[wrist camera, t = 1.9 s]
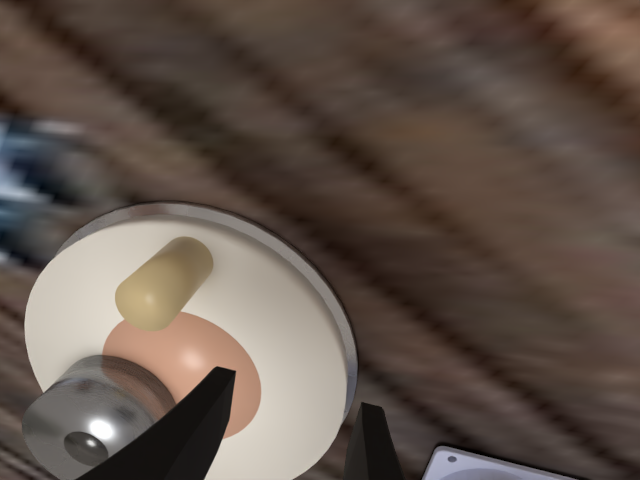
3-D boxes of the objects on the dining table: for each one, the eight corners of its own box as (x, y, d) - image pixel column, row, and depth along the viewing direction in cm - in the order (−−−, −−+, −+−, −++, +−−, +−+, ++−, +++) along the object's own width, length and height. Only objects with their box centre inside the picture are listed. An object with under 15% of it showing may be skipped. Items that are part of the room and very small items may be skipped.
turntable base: (396, 249, 20) (396, 253, 20) (322, 497, 28) (321, 504, 28) (30, 164, 21) (22, 166, 21) (57, 428, 29) (52, 434, 29)
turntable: (384, 261, 20) (384, 328, 15) (315, 499, 27) (300, 599, 22) (31, 179, 21) (-82, 217, 16) (57, 431, 28) (-14, 513, 23)
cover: (181, 373, 22) (151, 418, 20) (175, 460, 25) (149, 510, 22) (58, 341, 23) (13, 381, 20) (67, 431, 26) (29, 476, 23)
